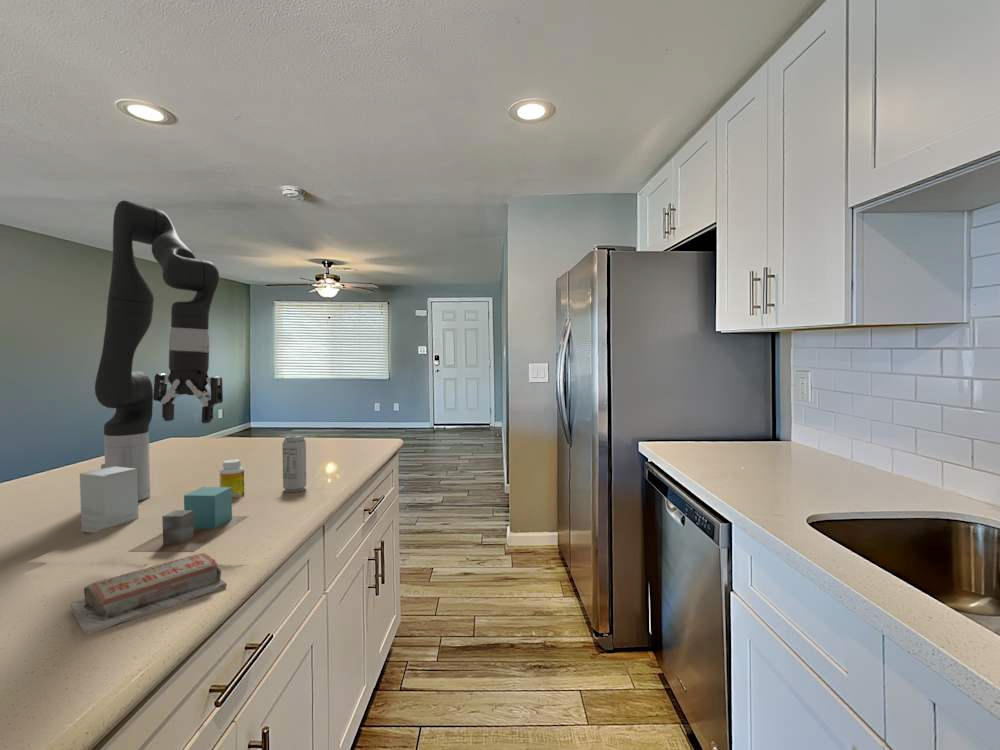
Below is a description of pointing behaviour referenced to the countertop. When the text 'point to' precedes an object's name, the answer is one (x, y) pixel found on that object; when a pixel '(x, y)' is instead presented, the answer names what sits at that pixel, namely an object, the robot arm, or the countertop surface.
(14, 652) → the countertop surface
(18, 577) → the countertop surface
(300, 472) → the energy drink can
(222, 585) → the packaged product
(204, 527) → the teal block
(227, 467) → the supplement bottle
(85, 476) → the supplement box
